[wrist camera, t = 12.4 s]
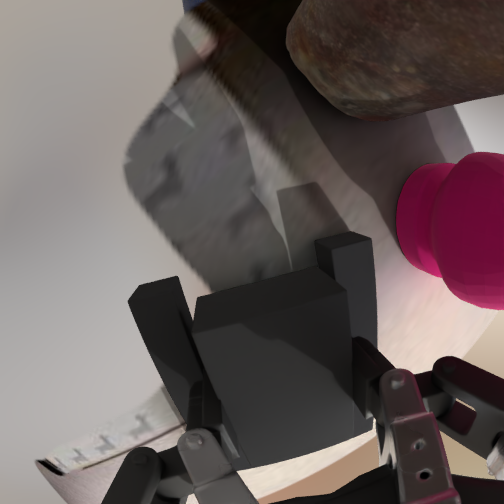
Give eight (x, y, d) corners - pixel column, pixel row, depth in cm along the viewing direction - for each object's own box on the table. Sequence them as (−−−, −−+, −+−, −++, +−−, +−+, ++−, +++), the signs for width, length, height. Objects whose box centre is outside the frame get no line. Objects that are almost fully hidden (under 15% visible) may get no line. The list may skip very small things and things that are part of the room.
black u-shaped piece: (138, 284, 12) (126, 300, 10) (351, 230, 13) (372, 237, 11) (217, 452, 15) (219, 474, 13) (361, 411, 16) (372, 429, 14)
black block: (196, 296, 11) (190, 333, 8) (316, 264, 11) (348, 289, 8) (244, 426, 13) (251, 468, 10) (333, 400, 13) (353, 437, 10)
